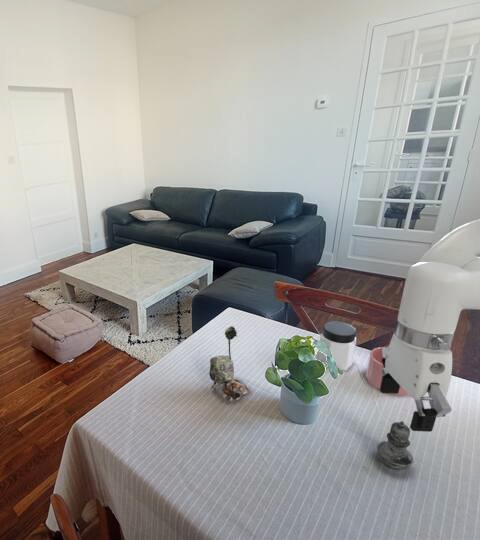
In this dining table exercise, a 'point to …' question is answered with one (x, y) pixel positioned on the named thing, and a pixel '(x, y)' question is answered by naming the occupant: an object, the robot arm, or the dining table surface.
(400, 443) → the grey stone figurine
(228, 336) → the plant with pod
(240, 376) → the dining table surface
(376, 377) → the pink coffee mug
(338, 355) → the jar
